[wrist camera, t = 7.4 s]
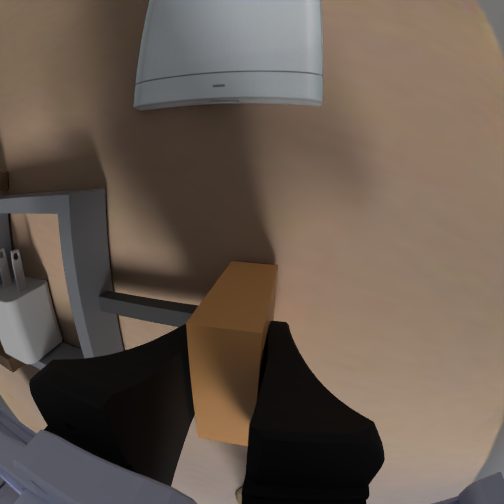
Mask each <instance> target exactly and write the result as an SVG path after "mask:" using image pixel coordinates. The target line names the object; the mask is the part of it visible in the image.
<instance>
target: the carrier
mask: <svg viewBox="0 0 504 504" xmlns="http://www.w3.org/2000/svg"><path fill="white" fill-rule="evenodd" d="M8 213H53V214H58V220H59V232H60V242H61V250H62V258H63V265H64V271H65V278H66V283H67V289H68V294H69V299H70V304H71V309H72V313H73V318H74V322H75V326H76V330H77V334H78V338H79V341H80V345H81V349H79V348H76V347H73V346H71V345H68V344H65V343H63V342H61V343H59V344H58V345H57V346H56V347H54V348H53V349H52V350H51V351H50V352H48V353H47V354H46V355H45V356H43V357H42V358H41V359H40V360H39V361H37V362H36V363H33V364H31V365H32V366H34V367H36V368H38V369H40V370H41V369H42V368H44V367H45V366H46V365H47V364H48V363H49V362H50V361H51V360H53V359H56V360H61V359H83V358H91V357H98V356H104V355H109V354H113V353H117V352H121V351H124V350H123V345H122V340H121V335H120V330H119V325H118V319H117V315H121V316H126V317H131V318H135V319H140V320H145V321H150V322H155V323H160V324H166V325H171V326H177V327H180V326H182V325H184V324H186V329H187V342H188V354H189V366H190V376H191V385H192V394H193V403H194V411H195V419H196V426H197V434H198V437H200V438H205V439H209V440H214V441H220V442H225V443H231V444H237V445H243V446H248V435H249V424H250V421H251V419H252V416H253V413H254V410H255V406H256V403H257V400H258V396H259V393H260V389H261V385H262V381H263V378H264V372H265V361H266V350H267V338H268V328H269V325H270V322H271V321H273V320H274V308H275V296H276V284H277V271H278V265H270V264H259V263H248V262H237V261H231V263H230V264H229V265H228V267H227V268H226V269H225V271H224V272H223V273H222V275H221V276H220V277H219V279H218V280H217V281H216V283H215V284H214V286H213V287H212V288H211V290H210V291H209V292H208V294H207V295H206V296H205V298H204V299H203V300H202V302H201V303H200V305H199V306H197V305H190V304H183V303H177V302H170V301H164V300H158V299H152V298H146V297H140V296H134V295H128V294H123V293H117V292H113V287H112V279H111V271H110V261H109V251H108V239H107V224H106V200H105V189H86V190H65V191H49V192H35V193H23V194H12V195H2V196H0V249H1V248H4V250H5V254H6V258H7V262H8V267H9V272H10V277H11V280H12V279H14V278H15V275H14V270H13V265H12V258H11V251H12V247H11V239H10V231H9V222H8ZM3 255H4V254H3V252H2V251H1V252H0V258H3ZM2 284H3V282H2V277H1V273H0V285H2Z"/></svg>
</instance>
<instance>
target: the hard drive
mask: <svg viewBox="0 0 504 504" xmlns="http://www.w3.org/2000/svg"><path fill="white" fill-rule="evenodd" d="M232 103H271V104H295V105H310V106H320V107H321V105H322V103H323V34H322V11H321V0H149V5H148V9H147V14H146V18H145V23H144V29H143V34H142V39H141V45H140V52H139V60H138V66H137V74H136V86H135V95H134V108H136V109H138V110H141V111H144V110H151V109H159V108H168V107H178V106H190V105H205V104H232Z"/></svg>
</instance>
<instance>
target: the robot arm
mask: <svg viewBox="0 0 504 504" xmlns="http://www.w3.org/2000/svg"><path fill="white" fill-rule="evenodd" d="M29 385H30V391H31V395H32V397H33V399H34V401H35V403H36V405H37V407H38V409H39V411H40V413H41V414H42V416H43V418H44V420H45V421H46V423H47V425H48V426H47V427H46V428H45V429H44V430H40V431H39V432H38V433H37V434H36V433H35V432H34V431H32V430H31V429H29V428H28V427H26V426H25V425H24V424H22V423H21V422H19V421H18V420H17V419H15V418H14V417H13V416H12V415H10V414H9V413H8V412H6V411H5V410H4V409H3V408H1V407H0V504H197V503H196V502H195V501H194V500H193V499H192V498H190V497H189V496H187V495H185V494H183V493H181V492H180V491H178V490H176V489H175V488H173V487H171V484H172V480H173V477H174V473H175V470H176V467H177V463H178V460H179V457H180V454H181V451H182V448H183V445H184V441H185V439H186V436H187V433H188V430H189V427H190V424H191V422H192V420H193V417H194V415H195V411H194V403H193V394H192V385H191V376H190V366H189V354H188V342H187V329H186V324H184V325H182V326H180V327H179V328H177V329H175V330H173V331H171V332H169V333H167V334H165V335H163V336H161V337H159V338H157V339H155V340H153V341H151V342H148V343H146V344H143V345H140V346H138V347H135V348H132V349H129V350H125V351H121V352H117V353H113V354H109V355H104V356H98V357H91V358H83V359H61V360H56V359H53V360H51V361H50V362H49V363H48V364H47V365H46V366H45V367H44V368H42V369H41V370H40V371H39V372H38V373H37V374H36V375H35V376H34V377H32V378H31V379H30V384H29ZM383 462H384V450H383V445H382V442H381V439H380V436H379V434H378V431H377V429H376V426H375V424H374V422H373V421H371V420H369V419H368V418H366V417H364V416H362V415H361V414H359V413H357V412H356V411H354V410H352V409H351V408H349V407H348V406H347V405H345V404H344V403H343V402H341V401H340V400H339V399H338V398H336V397H335V396H334V395H333V394H332V393H331V392H330V391H329V390H328V389H326V388H325V387H324V386H323V385H322V383H321V382H320V381H319V380H318V379H317V378H316V376H315V375H314V374H313V373H312V371H311V370H310V369H309V367H308V366H307V364H306V363H305V361H304V359H303V358H302V356H301V354H300V353H299V351H298V349H297V347H296V345H295V343H294V340H293V338H292V335H291V333H290V329H289V325H288V324H287V322H279V321H271V322H270V325H269V328H268V338H267V350H266V361H265V372H264V378H263V381H262V385H261V389H260V393H259V396H258V400H257V403H256V406H255V410H254V413H253V416H252V419H251V421H250V424H249V435H248V450H247V465H246V475H245V479H244V484H243V488H242V493H241V495H242V504H366V499H368V498H369V486H368V485H369V483H370V482H371V481H372V479H373V478H374V477H375V475H376V474H377V473H378V471H379V470H380V468H381V467H382V465H383ZM433 504H504V479H503V476H502V474H501V472H498V473H496V474H493V475H490V476H488V477H485V478H483V479H480V480H478V481H476V482H474V483H472V484H470V485H469V486H467V487H466V488H465V489H464V490H463V491H462V492H461V493H460V494H459V496H457V497H454V498H450V499H447V500H444V501H440V502H437V503H433Z"/></svg>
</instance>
